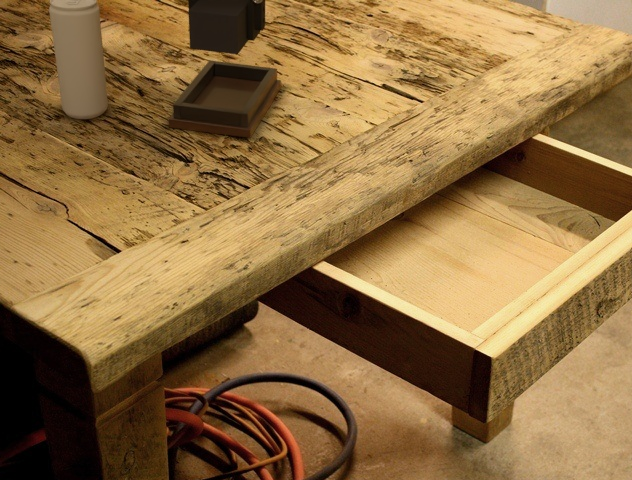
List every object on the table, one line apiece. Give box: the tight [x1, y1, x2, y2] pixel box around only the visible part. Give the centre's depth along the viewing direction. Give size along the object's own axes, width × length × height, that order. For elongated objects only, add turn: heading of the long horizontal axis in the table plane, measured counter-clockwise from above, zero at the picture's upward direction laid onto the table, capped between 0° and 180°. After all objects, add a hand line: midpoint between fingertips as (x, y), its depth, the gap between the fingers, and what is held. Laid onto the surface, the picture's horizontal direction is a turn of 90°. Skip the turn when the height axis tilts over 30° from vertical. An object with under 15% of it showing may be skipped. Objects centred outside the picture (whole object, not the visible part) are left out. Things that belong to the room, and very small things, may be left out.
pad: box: [187, 0, 249, 55], centre depth 96 cm, size 10×5×4 cm, turn 170°
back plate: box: [168, 60, 282, 139], centre depth 101 cm, size 14×9×2 cm, turn 170°
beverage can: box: [48, 0, 109, 120], centre depth 96 cm, size 5×5×12 cm
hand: (227, 31), depth 97 cm, fingers closed on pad, 5 cm apart
